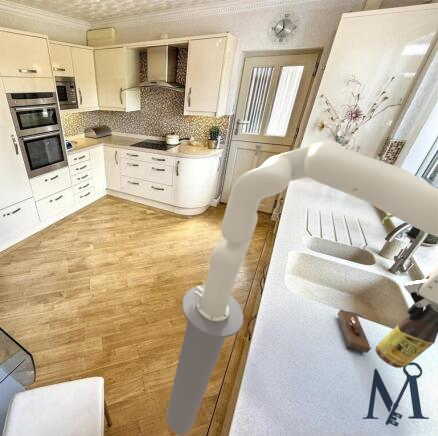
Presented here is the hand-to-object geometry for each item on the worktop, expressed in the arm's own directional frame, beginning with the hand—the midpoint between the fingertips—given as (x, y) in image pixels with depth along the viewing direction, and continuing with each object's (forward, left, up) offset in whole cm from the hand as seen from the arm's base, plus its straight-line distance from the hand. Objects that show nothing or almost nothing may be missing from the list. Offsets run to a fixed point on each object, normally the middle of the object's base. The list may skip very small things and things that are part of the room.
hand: (425, 323), depth 56 cm
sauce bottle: (0, 0, -15) cm, 15 cm away
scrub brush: (-7, +14, -26) cm, 31 cm away
